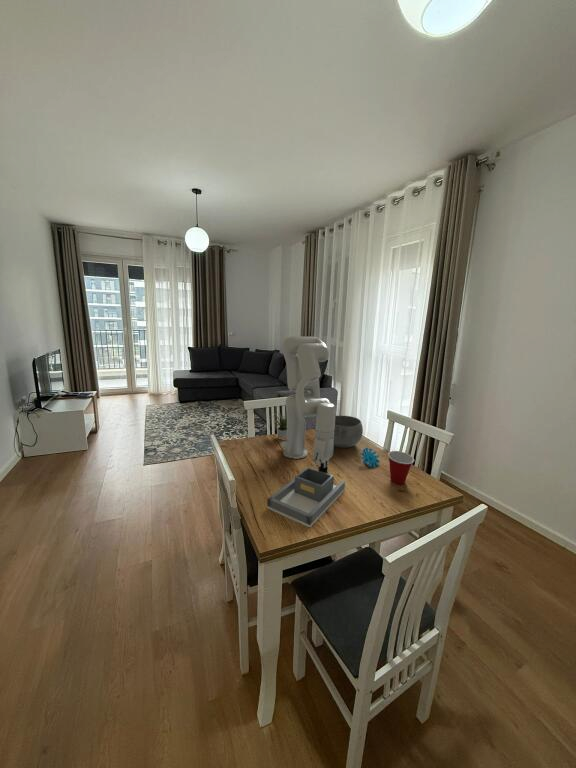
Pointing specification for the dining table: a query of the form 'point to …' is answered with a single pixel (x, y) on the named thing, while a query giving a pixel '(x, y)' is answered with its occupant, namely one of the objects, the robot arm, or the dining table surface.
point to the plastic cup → (399, 466)
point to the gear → (370, 457)
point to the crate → (313, 484)
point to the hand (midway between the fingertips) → (322, 475)
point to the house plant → (282, 426)
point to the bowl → (347, 431)
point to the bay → (302, 503)
